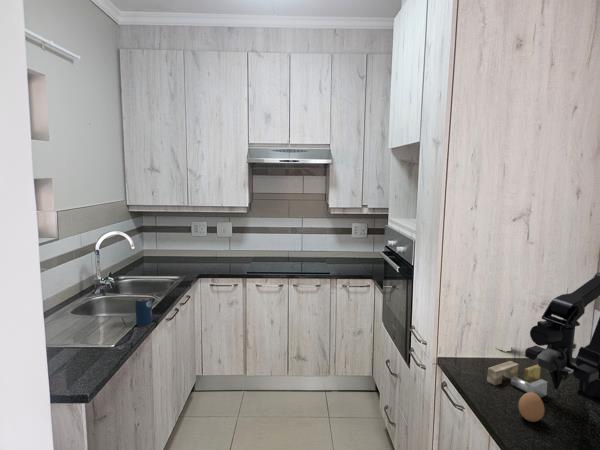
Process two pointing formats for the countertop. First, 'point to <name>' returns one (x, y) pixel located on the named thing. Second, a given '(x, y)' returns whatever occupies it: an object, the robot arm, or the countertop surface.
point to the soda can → (143, 311)
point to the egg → (531, 407)
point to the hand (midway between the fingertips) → (557, 389)
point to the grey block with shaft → (531, 386)
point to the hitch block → (506, 368)
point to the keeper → (532, 373)
